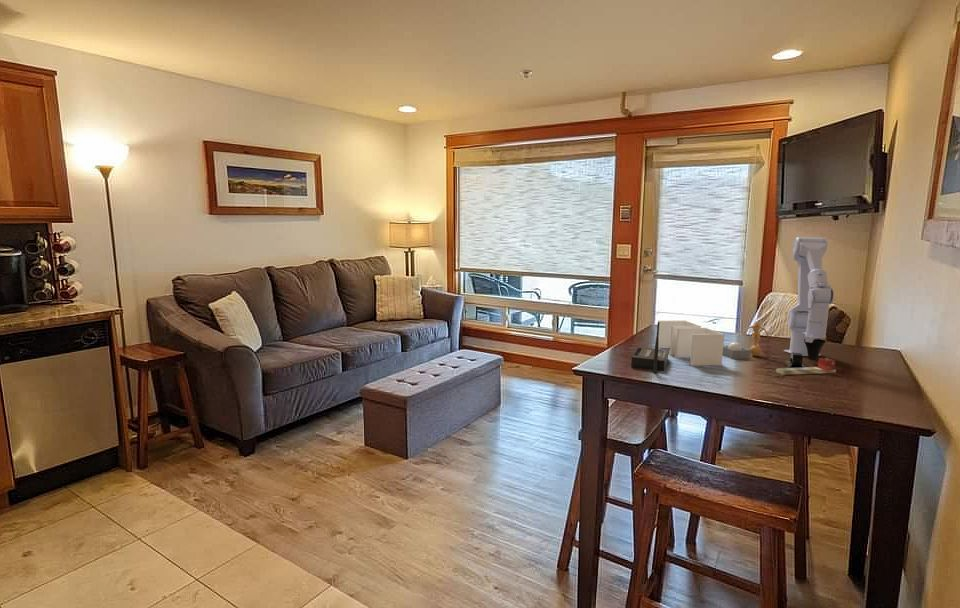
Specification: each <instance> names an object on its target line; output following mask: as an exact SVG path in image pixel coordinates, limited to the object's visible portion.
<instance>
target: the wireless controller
mask: <svg viewBox="0 0 960 608" xmlns="http://www.w3.org/2000/svg"><path fill="white" fill-rule="evenodd" d="M654 343H655V344H654V348H650V347H644V346H643V347H642V346H641V347H640V346H638V347H637V349H636V350H635V352H634V354H633V355H632V356H631V360H630V361H631V362H630V363H631V364H630V367H631V368H636V369H645V370H652V373H653V374H657V373H658V372H657V371H659V372H665V370H666V367H667V363H668V360H669V352H670V349H669V350H668V349H662V348H659V349H658V347H659V322H657V325H656V337H655V342H654Z"/></svg>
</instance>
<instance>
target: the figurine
mask: <svg viewBox="0 0 960 608" xmlns="http://www.w3.org/2000/svg"><path fill="white" fill-rule="evenodd" d="M750 329H752V330H753V332H752V333H751V335H752V336H751V338H752V346H750V348H749V350H751V351H750V355H752V356H753V357H758V356H760V355H761V354H762V352H763V350H762V347H760V345H759V343H760V341H761V333H760V332H759V331H760V330H763V331H764V332H765V334H766V336H767V338H769V334H768V333H769V332H767V330H766V328H765V327H762V326H760V325H759V323H754V324H753V325H751V326H748V327H746V329H745V331H744V333H743V336H746V334H747V332H748V330H750ZM755 338H757V341H756V344H755V340H756V339H755Z"/></svg>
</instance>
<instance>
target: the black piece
mask: <svg viewBox="0 0 960 608" xmlns="http://www.w3.org/2000/svg"><path fill="white" fill-rule="evenodd" d="M803 357H804V356H803V355H802V354H801V353H793V352H791V353H790V361H788V360H784V363H785V364H786V366H787V368H804V367H806V366H805V364H804V363H803V360H804V359H803Z"/></svg>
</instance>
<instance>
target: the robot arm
mask: <svg viewBox="0 0 960 608" xmlns="http://www.w3.org/2000/svg"><path fill="white" fill-rule="evenodd" d="M827 249H828V240H827V238H826V237H804V236H803V237H801V236H796V237H795V238H794V241H793V245H792V260H793V261H795V262H796V263H797V268H798V271H797V272H798V273H797V304H796V305H794V306H792V307H791V308H790V309H789V310H788V316H787V327H788V328H789V329H790V330H791V334H790V335H791V336H790V342H789V349H784V350H783V352H785V353H787V354H791V352H793V353H801V354H802V355H803V357H807V358H808V360H810V361H818V360H817V359H819V357H820V356H821V355H822V354H821V353H820V352H821V350H822V348H823V346H824V345H825V344H826V341H827V340H825V338H827V335H826V334H827V327H828V318H829V311H830V305H832V304H833V301H834V294H835V293H834V288H833V287H832V285H829V278H828V273H827V271H825V270H824V269H823V257H824V255H825V253H826V251H827Z"/></svg>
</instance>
